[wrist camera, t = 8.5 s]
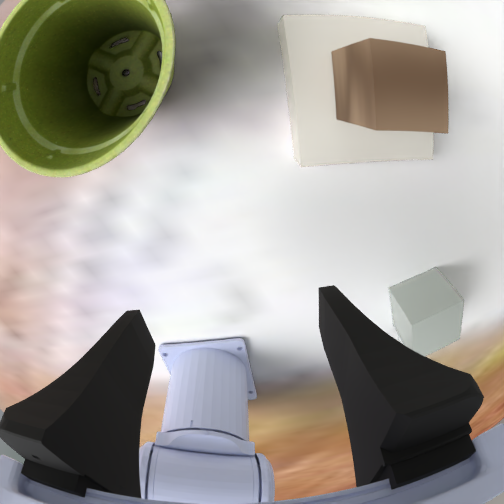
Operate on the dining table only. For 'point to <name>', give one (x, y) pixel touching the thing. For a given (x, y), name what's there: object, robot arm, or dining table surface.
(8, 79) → the plant pot
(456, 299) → the grey cube
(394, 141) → the cream block
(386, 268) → the dining table surface
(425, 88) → the walnut block
